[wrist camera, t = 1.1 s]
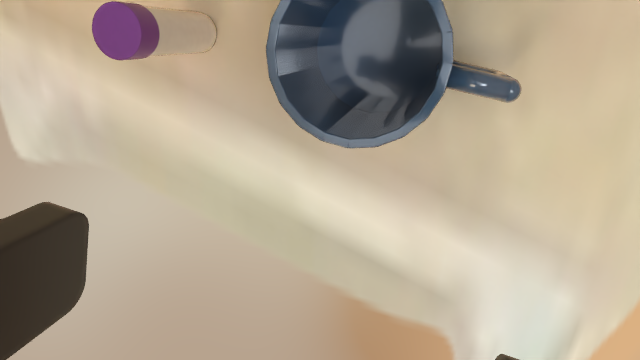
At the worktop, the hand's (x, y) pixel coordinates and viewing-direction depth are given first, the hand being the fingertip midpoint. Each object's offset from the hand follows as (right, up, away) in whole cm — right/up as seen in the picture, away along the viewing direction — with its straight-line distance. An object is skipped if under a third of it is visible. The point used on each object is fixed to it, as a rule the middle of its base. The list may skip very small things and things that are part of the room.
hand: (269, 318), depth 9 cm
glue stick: (-8, +13, +25) cm, 29 cm away
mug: (+6, +11, +22) cm, 26 cm away
